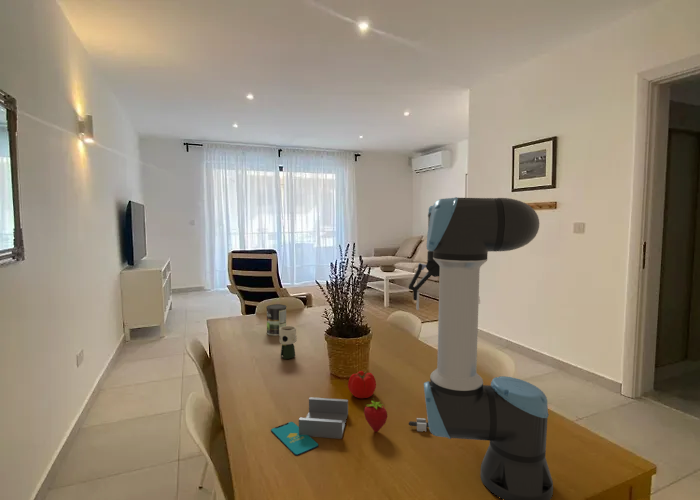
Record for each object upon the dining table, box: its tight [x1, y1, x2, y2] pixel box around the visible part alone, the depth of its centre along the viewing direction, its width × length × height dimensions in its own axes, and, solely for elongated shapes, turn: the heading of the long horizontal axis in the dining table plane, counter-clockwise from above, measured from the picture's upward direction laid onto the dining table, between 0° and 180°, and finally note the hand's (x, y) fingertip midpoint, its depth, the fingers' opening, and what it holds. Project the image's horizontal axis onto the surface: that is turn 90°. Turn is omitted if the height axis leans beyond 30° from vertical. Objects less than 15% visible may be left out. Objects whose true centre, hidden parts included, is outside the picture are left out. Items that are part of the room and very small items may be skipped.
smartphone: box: [270, 421, 319, 457], centre depth 106 cm, size 7×1×15 cm
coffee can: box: [266, 303, 287, 337], centre depth 201 cm, size 10×10×14 cm
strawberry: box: [363, 397, 388, 433], centre depth 108 cm, size 6×8×10 cm
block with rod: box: [408, 417, 429, 432], centre depth 111 cm, size 3×7×2 cm, turn 83°
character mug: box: [278, 325, 298, 360], centre depth 166 cm, size 11×7×13 cm, turn 49°
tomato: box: [347, 370, 377, 399], centre depth 131 cm, size 9×9×8 cm
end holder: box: [298, 396, 349, 440], centre depth 112 cm, size 13×12×5 cm
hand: (437, 310), depth 136 cm, fingers open, 13 cm apart
